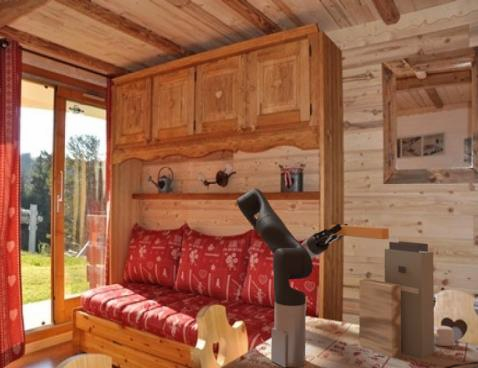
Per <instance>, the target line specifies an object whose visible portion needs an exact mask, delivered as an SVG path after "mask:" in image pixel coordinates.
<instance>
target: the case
mask: <svg viewBox="0 0 478 368" xmlns="http://www.w3.org/2000/svg"><path fill="white" fill-rule="evenodd" d="M388 245H389V247H388V248H384V282H388V283H393V284H398V285H401V352H404V353H407V354H409V355H412V356H415V357H418V358H421V359H423V358H426V357H429V356H431V355H434V354H435V343H434V326H435V310H434V309H435V307H434V306H435V305H434V303H435V302H434V301H435V300H434V299H435V297H434V295H435V294H434V293H435V292H434V291H435V289H434V286H435V285H434V252H433V251H429V247H428V246H429V245H428V243H424V242H423V243H422V242H421V243H420V242H412V241H400V240H399V241H397V242H396V241H389V242H388Z"/></svg>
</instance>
